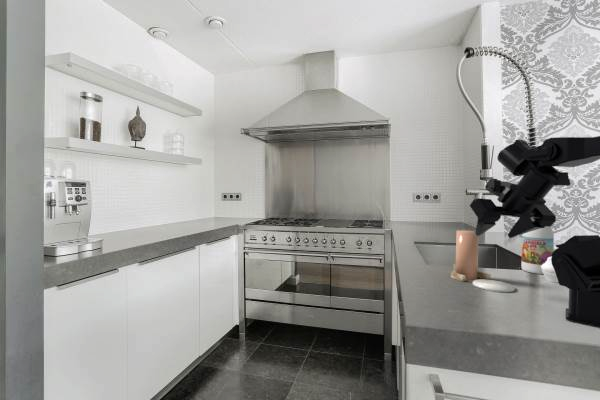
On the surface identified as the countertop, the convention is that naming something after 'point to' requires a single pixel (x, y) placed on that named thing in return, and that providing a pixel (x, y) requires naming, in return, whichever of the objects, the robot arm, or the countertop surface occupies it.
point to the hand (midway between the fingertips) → (493, 235)
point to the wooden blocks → (463, 277)
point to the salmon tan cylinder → (467, 254)
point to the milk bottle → (536, 249)
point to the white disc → (493, 285)
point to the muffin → (549, 271)
